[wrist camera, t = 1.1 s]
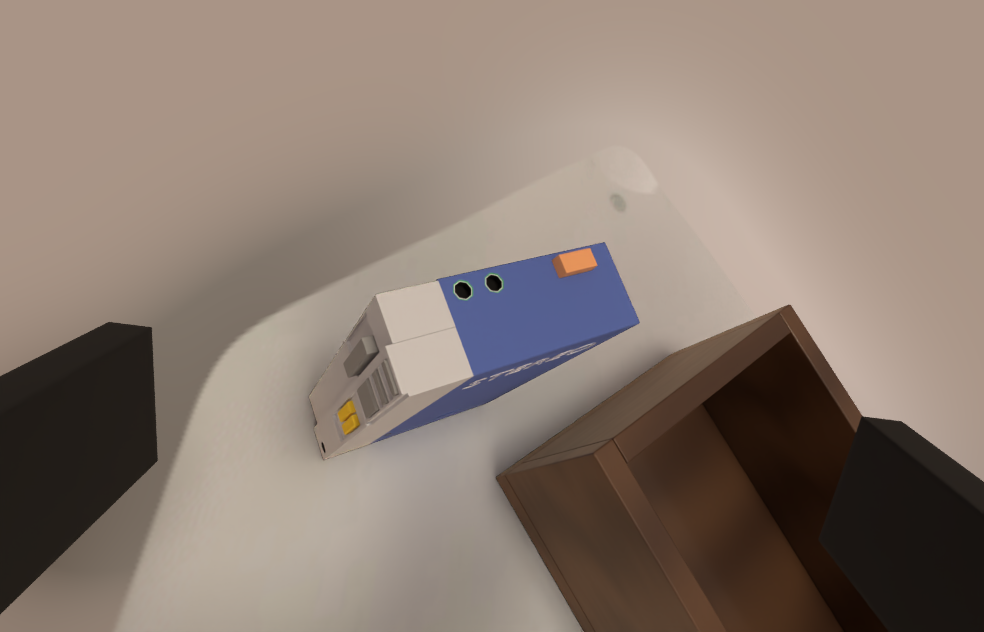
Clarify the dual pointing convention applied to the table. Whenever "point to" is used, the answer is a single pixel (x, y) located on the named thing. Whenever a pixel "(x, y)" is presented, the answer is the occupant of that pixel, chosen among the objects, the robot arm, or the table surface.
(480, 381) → the walkman
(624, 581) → the chest
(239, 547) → the table surface
